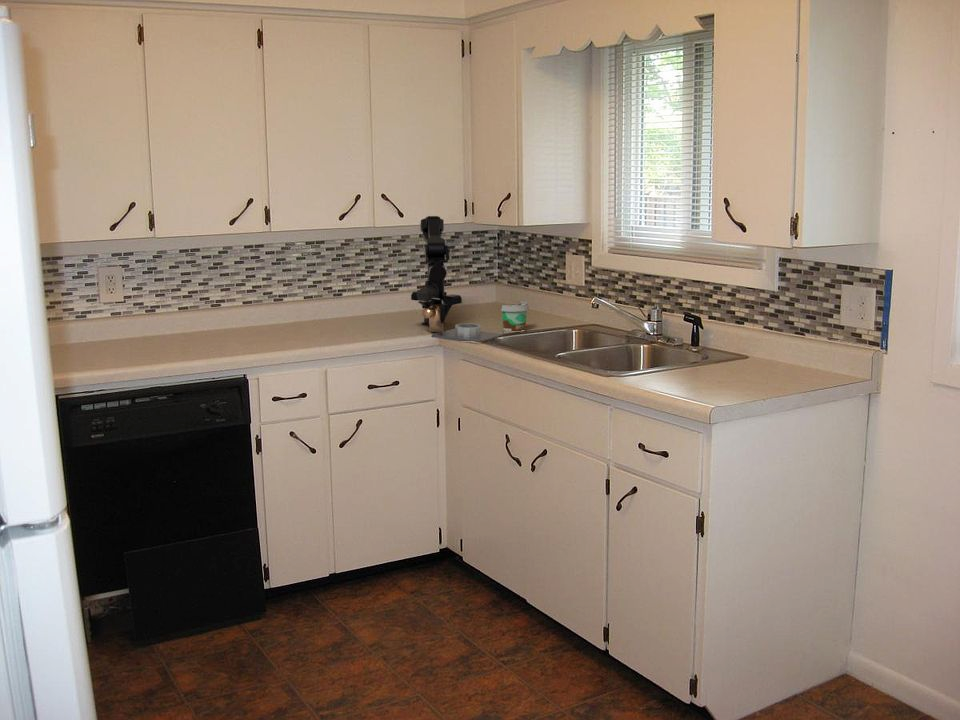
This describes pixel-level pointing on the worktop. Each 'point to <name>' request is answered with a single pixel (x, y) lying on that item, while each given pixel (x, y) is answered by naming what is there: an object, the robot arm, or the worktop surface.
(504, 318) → the food container
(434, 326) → the elbow
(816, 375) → the worktop surface
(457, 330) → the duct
